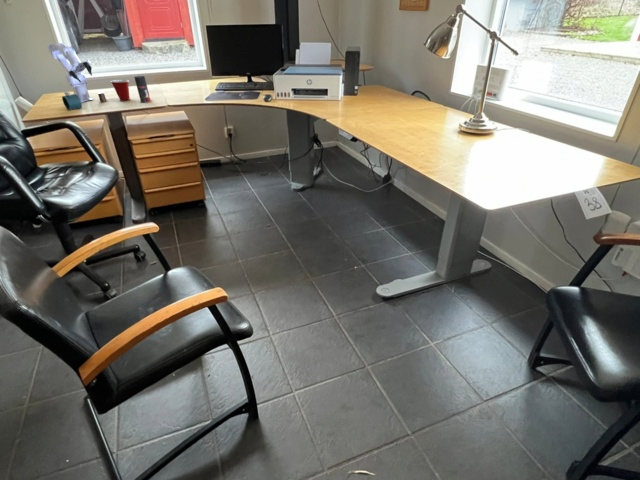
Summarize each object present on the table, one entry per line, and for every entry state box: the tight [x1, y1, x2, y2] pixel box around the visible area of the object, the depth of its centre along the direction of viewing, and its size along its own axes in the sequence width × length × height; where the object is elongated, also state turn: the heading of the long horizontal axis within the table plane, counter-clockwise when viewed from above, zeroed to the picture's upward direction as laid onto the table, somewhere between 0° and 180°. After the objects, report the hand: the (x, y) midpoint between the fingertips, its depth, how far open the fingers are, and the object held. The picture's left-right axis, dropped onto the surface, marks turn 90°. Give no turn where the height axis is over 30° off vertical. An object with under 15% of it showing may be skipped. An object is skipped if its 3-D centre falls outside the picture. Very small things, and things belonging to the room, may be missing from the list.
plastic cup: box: [110, 79, 130, 102], centre depth 247 cm, size 11×11×12 cm
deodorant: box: [134, 75, 152, 104], centre depth 241 cm, size 6×6×15 cm
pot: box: [61, 91, 83, 111], centre depth 230 cm, size 10×8×7 cm
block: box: [97, 91, 107, 103], centre depth 246 cm, size 4×4×6 cm
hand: (85, 77), depth 229 cm, fingers open, 7 cm apart
